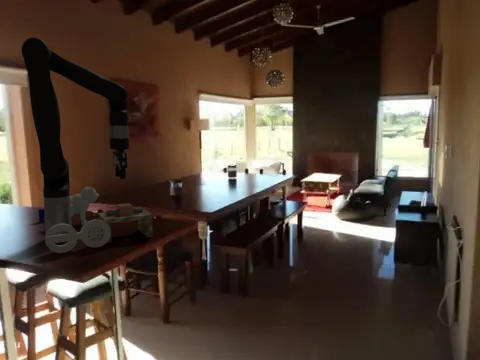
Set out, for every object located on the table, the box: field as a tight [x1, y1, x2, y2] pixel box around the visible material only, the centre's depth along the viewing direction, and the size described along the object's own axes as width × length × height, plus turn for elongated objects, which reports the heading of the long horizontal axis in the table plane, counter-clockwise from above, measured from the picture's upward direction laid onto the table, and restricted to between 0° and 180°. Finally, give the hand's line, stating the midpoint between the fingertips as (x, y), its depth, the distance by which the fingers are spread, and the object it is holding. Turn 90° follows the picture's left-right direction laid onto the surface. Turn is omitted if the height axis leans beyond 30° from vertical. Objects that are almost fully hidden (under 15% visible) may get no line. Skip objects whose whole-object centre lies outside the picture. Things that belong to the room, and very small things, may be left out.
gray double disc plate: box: [44, 218, 112, 254], centre depth 146 cm, size 22×2×10 cm, turn 123°
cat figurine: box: [43, 186, 101, 227], centre depth 182 cm, size 25×10×17 cm, turn 129°
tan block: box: [116, 202, 134, 224], centre depth 164 cm, size 5×6×7 cm
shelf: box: [97, 206, 154, 244], centre depth 164 cm, size 18×14×11 cm
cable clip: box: [38, 208, 45, 223], centre depth 195 cm, size 12×4×6 cm, turn 176°
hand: (120, 177), depth 164 cm, fingers open, 8 cm apart
